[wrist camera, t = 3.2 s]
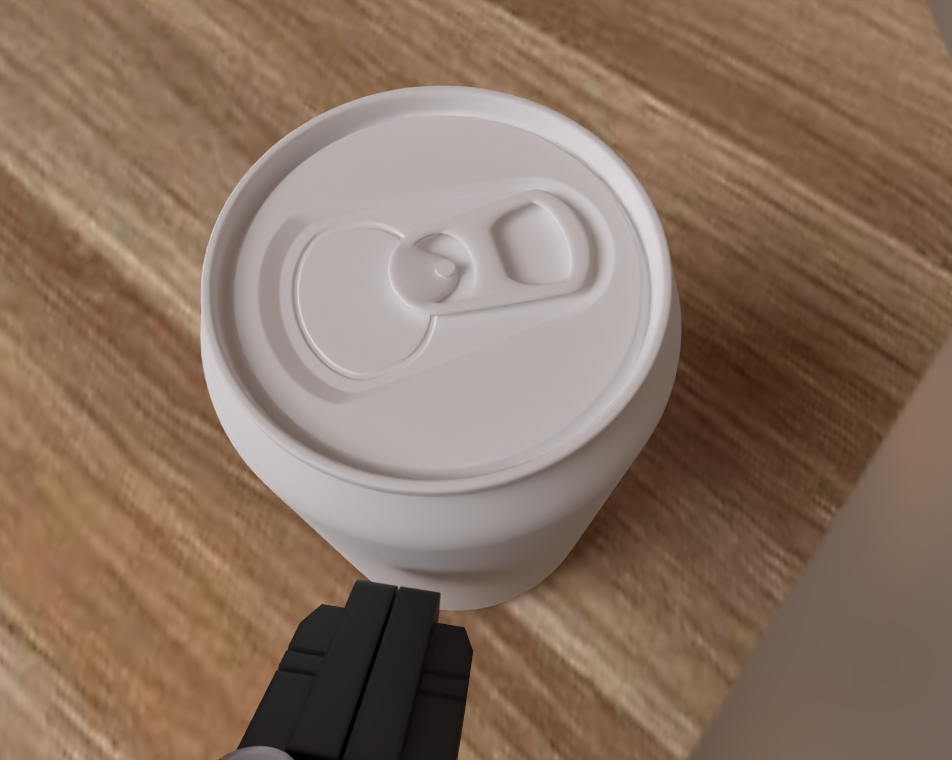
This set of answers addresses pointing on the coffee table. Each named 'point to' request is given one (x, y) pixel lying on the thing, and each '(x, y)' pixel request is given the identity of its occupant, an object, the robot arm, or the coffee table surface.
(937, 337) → the coffee table surface
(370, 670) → the robot arm
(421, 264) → the beverage can
